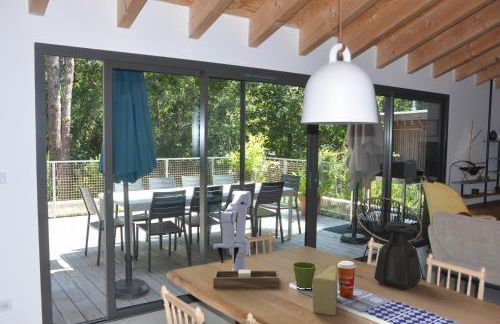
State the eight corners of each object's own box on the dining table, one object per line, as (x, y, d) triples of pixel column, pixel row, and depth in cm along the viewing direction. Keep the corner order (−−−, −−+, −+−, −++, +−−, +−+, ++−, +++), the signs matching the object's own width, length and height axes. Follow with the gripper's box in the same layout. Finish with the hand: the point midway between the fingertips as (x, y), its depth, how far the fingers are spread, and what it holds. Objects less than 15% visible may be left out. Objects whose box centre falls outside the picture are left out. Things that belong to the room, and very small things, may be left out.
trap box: (215, 279, 218) (215, 270, 218) (277, 279, 218) (277, 270, 218) (213, 287, 206) (213, 278, 206) (279, 287, 206) (279, 278, 206)
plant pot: (316, 293, 198) (316, 269, 198) (290, 291, 200) (290, 267, 200) (317, 284, 210) (317, 262, 209) (293, 283, 212) (293, 260, 212)
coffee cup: (334, 296, 193) (335, 264, 193) (340, 291, 201) (340, 259, 200) (353, 299, 189) (353, 266, 189) (357, 294, 197) (358, 261, 196)
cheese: (324, 295, 195) (324, 263, 195) (345, 298, 192) (346, 265, 191) (311, 312, 175) (311, 276, 174) (335, 316, 171) (335, 279, 171)
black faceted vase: (372, 283, 212) (373, 223, 210) (388, 276, 223) (389, 219, 222) (407, 292, 199) (408, 228, 198) (422, 284, 211) (423, 223, 209)
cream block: (238, 277, 215) (238, 269, 215) (250, 277, 215) (250, 269, 215) (238, 281, 209) (238, 273, 209) (250, 281, 209) (250, 273, 209)
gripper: (212, 237, 207) (213, 264, 208) (242, 237, 207) (242, 264, 208) (214, 234, 214) (214, 261, 215) (243, 234, 214) (243, 260, 215)
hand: (228, 262), depth 212 cm, fingers open, 5 cm apart
